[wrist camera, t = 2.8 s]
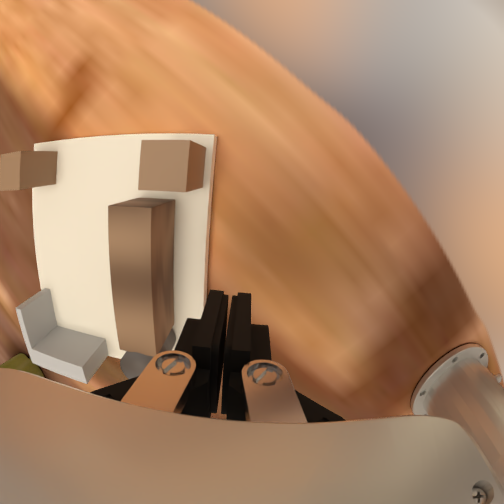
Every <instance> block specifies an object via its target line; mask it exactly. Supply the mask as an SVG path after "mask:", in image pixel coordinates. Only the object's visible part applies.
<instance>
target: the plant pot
mask: <svg viewBox="0 0 504 504" xmlns="http://www.w3.org/2000/svg"><path fill="white" fill-rule="evenodd" d="M0 368H9V369H15V370H20V371H25V372H28V373H32V374H35V375H38V376H41V377H44V375H43V373H42V371H41V370H40V368H39V367H38V366H37V365H36V364H34V363H32V361H31V359H29V358H27V357H26V355H25V354H22V353H20V354H18V355H16V356H14V357H13V358H11V359H10V360H8V361H6V362H5V363H3V364H2V365H0Z"/></svg>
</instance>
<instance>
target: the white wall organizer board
mask: <svg viewBox="0 0 504 504" xmlns="http://www.w3.org/2000/svg"><path fill="white" fill-rule="evenodd" d="M216 145H217V136H215V135H213V134H173V133H165V134H126V135H109V136H95V137H84V138H75V139H66V140H58V141H51V142H44V143H37V144H34V151H19V152H13V153H8V154H2V155H1V159H0V191H6V190H22V189H28V188H32V205H33V227H34V240H35V250H36V259H37V266H38V273H39V280H40V286H41V291H40V292H38V293H37V294H35V295H34V296H32V297H31V298H29V299H28V300H26V301H25V302H23V303H22V304H20V305H19V306H18V307H16V312H17V315H18V319H19V323H20V326H21V330H22V333H23V337H24V340H25V343H26V346H27V349H28V352H29V355H30V358H31V361H32V363H34V364H36V365H39V366H41V367H43V368H46V369H48V370H51V371H53V372H56V373H58V374H61V375H63V376H66V377H69V378H72V379H74V380H77V381H80V382H83V383H86V384H87V383H88V382H89V381H90V379H91V378H92V376H93V375H94V374H95V372H96V371H97V370H98V368H99V367H100V365H101V364H102V363H103V361H104V360H105V359H106V357H107V356H111V357H115V358H119V359H121V358H122V357H123V356H124V354H125V353H126V351H124V350H120V348H119V342H118V336H117V329H116V322H115V315H114V306H113V298H112V287H111V276H110V261H109V240H108V206H109V205H112V204H116V203H120V202H124V201H127V200H131V199H135V198H159V199H175V220H174V259H173V291H174V325H173V327H172V329H173V331H174V333H175V336H176V342H175V344H174V346H173V349H172V350H175V347H176V345H177V342H178V340H179V337H180V335H181V332H182V330H183V327H184V325H185V322H186V320H187V318H194V319H201V316H202V313H203V310H204V307H205V304H206V299H207V273H208V253H209V235H210V219H211V204H212V191H213V178H214V167H215V155H216Z"/></svg>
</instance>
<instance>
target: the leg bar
mask: <svg viewBox="0 0 504 504" xmlns="http://www.w3.org/2000/svg"><path fill="white" fill-rule="evenodd" d="M174 220H175V199H159V198H135V199H131V200H127V201H124V202H120V203H116V204H112V205H109V206H108V240H109V261H110V276H111V287H112V298H113V306H114V315H115V322H116V329H117V336H118V342H119V348H120V350H124V351H126V353H125V354H124V356H123V357H122V358H121V361H120V366H121V369H122V371H123V373H124V374H125V376H126V377H127V378H128V379H131V378H134V377H137V376H140V374H141V373H142V372H143V370H144V369H145V368H146V366H147V365H148V364H149V362H150V361H151V360H152V358H153V357H154V356H155V355H157V354H159V353H161V352H164V351H172V349H173V346H174V344H175V342H176V336H175V333H174V331H173V329H172V327H173V325H174V291H173V259H174Z"/></svg>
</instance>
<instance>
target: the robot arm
mask: <svg viewBox="0 0 504 504" xmlns="http://www.w3.org/2000/svg"><path fill="white" fill-rule="evenodd" d="M227 310H228V295H224V291H217V290H210V292H209V295H208V298H207V301H206V304H205V307H204V310H203V313H202V316H201V319H194V318H187V320H186V322H185V325H184V327H183V330H182V332H181V335H180V337H179V340H178V342H177V345H176V347H175V350H172V351H164V352H161V353H159V354H157V355H155V356H154V357H153V358H152V360H151V361H150V362H149V364H148V365H147V366H146V368H145V369H144V370H143V372H142V373H141V374H140V376H137V377H134V378H131V379H129V380H126V381H123V382H120V383H117V384H114V385H111V386H107V387H104V388H101V389H98V390H95V391H93V392H91V393H88V392H85V391H82V390H79V389H76V388H73V387H70V386H67V385H64V384H61V383H58V382H55V381H52V380H49V379H46V378H44V377H41V376H38V375H35V374H32V373H28V372H25V371H20V370H15V369H9V368H0V504H504V388H503V387H502V386H501V385H500V384H499V383H500V382H501V380H502V376H501V375H500V374H497V375H494V376H493V374H492V373H491V372H490V371H489V370H488V369H487V367H488V354H487V352H486V351H485V350H484V348H483V347H482V346H480V345H478V344H474V343H472V344H466V345H463V346H460V347H458V348H456V349H454V350H452V351H451V352H449V353H448V354H446V355H445V356H444V357H442V358H441V359H440V360H439V361H437V362H436V363H435V364H434V365H433V366H432V367H431V368H430V369H429V371H428V372H427V373H426V374H425V375H424V376H423V378H422V379H421V381H420V382H419V383H418V385H417V387H416V389H415V391H414V393H413V396H412V399H411V409H412V411H413V414H414V415H403V416H391V417H382V418H372V419H360V420H350V421H346V420H345V419H343V418H342V417H340V416H339V415H337V414H335V413H333V412H331V411H330V410H328V409H326V408H324V407H323V406H321V405H319V404H317V403H316V402H314V401H312V400H311V399H309V398H307V397H306V396H304V395H302V394H301V393H299V392H297V391H296V390H295V389H294V387H293V384H292V382H291V379H290V376H289V374H288V372H287V370H286V369H285V368H284V367H283V366H282V365H281V364H279V363H277V362H274V361H271V350H270V338H269V328H268V325H255V324H251V294H250V293H238V296H232V302H231V309H230V315H229V322H228V329H227V336H226V326H227ZM223 363H224V366H223ZM222 370H223V386H222V409H221V414H227V420H225V419H215V418H210V416H211V413H217V407H218V400H219V392H220V385H221V378H222Z"/></svg>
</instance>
